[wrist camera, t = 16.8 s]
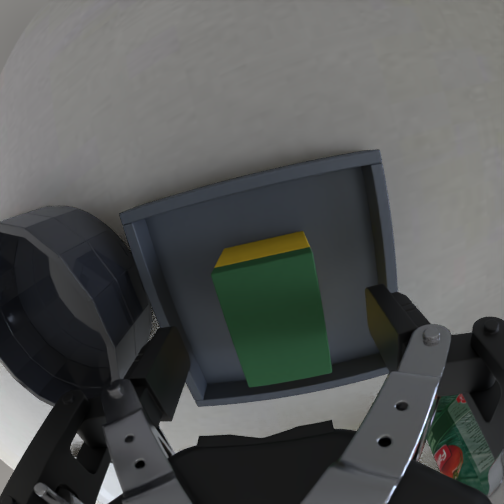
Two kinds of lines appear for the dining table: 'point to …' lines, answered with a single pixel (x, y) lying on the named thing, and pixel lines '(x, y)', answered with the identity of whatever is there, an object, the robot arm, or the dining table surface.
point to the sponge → (273, 309)
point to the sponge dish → (259, 228)
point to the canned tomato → (460, 444)
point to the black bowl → (68, 303)
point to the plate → (109, 486)
